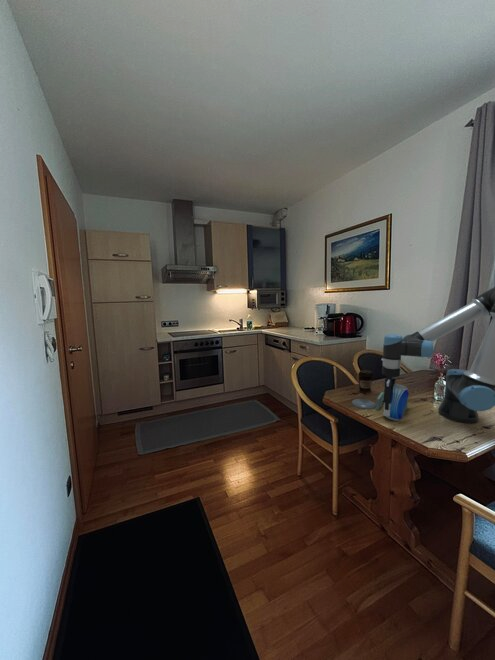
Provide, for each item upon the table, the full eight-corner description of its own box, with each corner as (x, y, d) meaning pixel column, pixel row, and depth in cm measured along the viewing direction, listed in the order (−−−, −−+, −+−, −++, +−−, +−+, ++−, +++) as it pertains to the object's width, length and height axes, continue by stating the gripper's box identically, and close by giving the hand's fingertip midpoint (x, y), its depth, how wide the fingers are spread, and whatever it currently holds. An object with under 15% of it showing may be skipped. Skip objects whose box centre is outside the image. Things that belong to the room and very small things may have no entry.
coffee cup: (374, 395, 153) (375, 374, 151) (359, 394, 155) (360, 373, 153) (370, 389, 161) (371, 369, 160) (356, 389, 163) (357, 369, 161)
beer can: (400, 423, 119) (408, 392, 116) (380, 416, 124) (388, 385, 121) (403, 417, 126) (411, 387, 122) (384, 410, 131) (391, 381, 127)
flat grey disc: (378, 403, 142) (378, 402, 142) (373, 411, 132) (373, 410, 132) (355, 398, 149) (355, 397, 149) (349, 405, 140) (349, 404, 140)
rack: (407, 407, 137) (408, 396, 136) (403, 416, 127) (404, 404, 126) (381, 401, 144) (382, 391, 143) (376, 409, 134) (376, 398, 133)
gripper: (386, 361, 133) (384, 402, 136) (377, 371, 117) (375, 418, 120) (403, 363, 129) (400, 406, 132) (396, 373, 112) (393, 423, 115)
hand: (388, 412), depth 126 cm, fingers closed on beer can, 8 cm apart
